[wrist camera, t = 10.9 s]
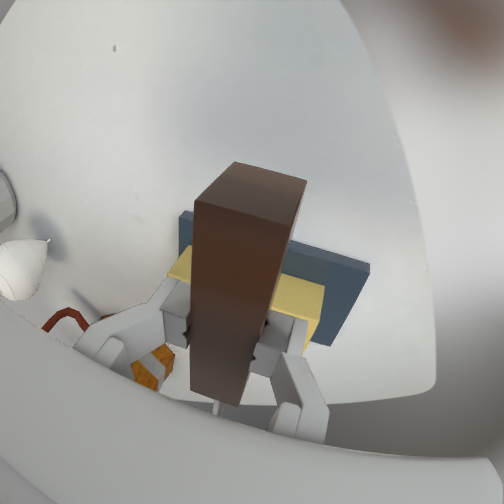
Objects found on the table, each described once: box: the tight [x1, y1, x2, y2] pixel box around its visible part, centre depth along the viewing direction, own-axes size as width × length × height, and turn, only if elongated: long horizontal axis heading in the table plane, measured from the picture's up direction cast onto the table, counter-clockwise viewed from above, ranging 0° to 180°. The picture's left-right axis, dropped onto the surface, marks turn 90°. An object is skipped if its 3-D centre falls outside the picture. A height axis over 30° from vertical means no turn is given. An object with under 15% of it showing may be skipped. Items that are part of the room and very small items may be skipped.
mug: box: [41, 307, 175, 392], centre depth 36 cm, size 20×14×15 cm
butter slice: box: [271, 273, 325, 355], centre depth 25 cm, size 5×4×4 cm
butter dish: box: [179, 211, 370, 346], centre depth 27 cm, size 10×16×1 cm, turn 81°
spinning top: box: [0, 239, 51, 301], centre depth 30 cm, size 8×8×12 cm
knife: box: [190, 162, 307, 417], centre depth 15 cm, size 21×2×3 cm, turn 171°
